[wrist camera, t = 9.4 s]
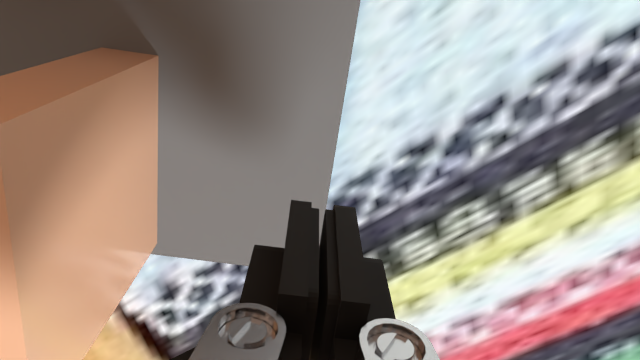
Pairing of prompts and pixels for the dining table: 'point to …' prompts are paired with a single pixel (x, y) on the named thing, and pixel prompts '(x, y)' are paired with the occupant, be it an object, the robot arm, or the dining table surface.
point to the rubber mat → (216, 104)
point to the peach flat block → (74, 197)
